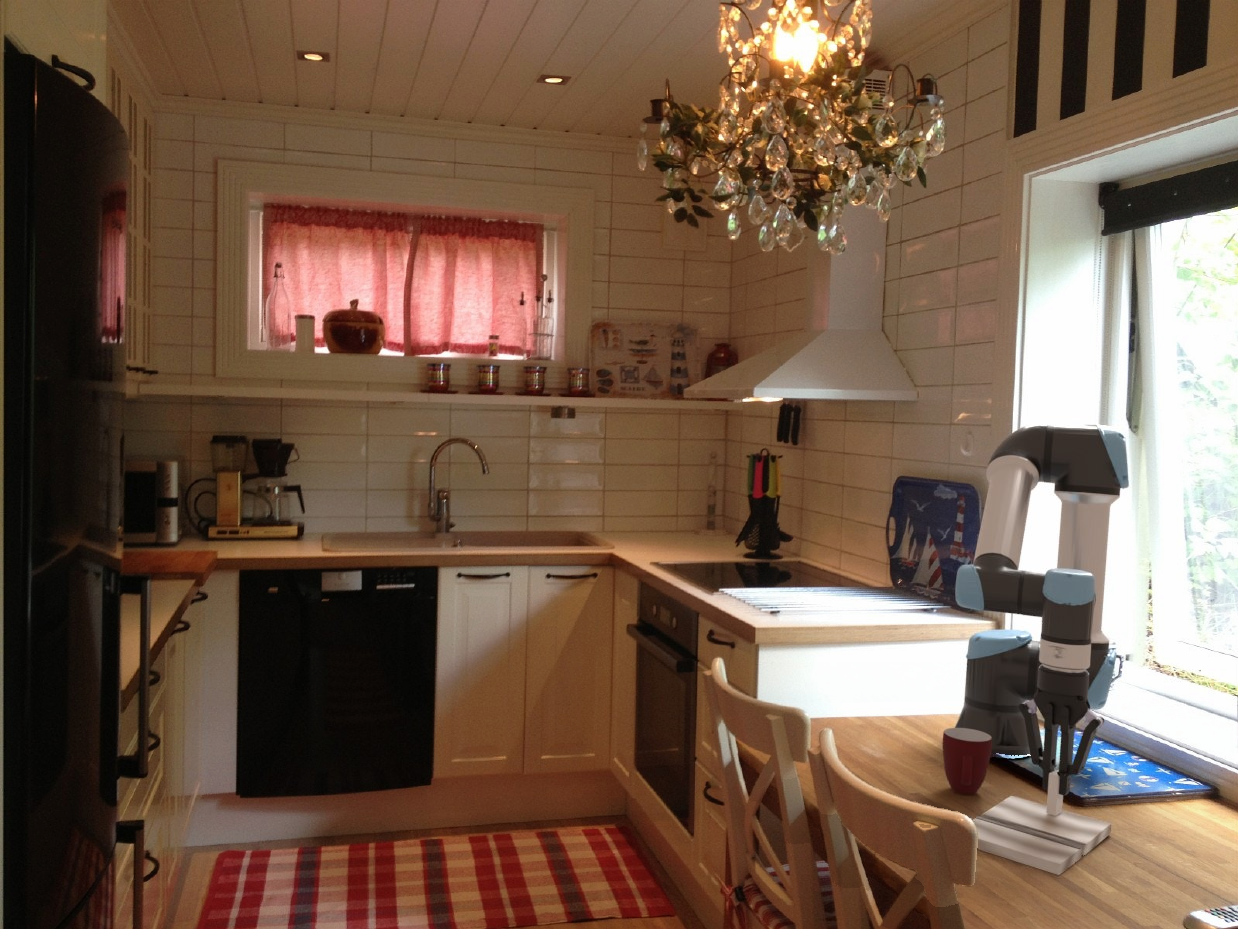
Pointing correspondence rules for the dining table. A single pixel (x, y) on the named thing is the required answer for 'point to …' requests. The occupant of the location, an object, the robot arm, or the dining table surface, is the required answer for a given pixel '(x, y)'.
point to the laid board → (1026, 846)
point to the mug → (966, 758)
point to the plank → (1050, 822)
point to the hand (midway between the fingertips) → (1054, 812)
